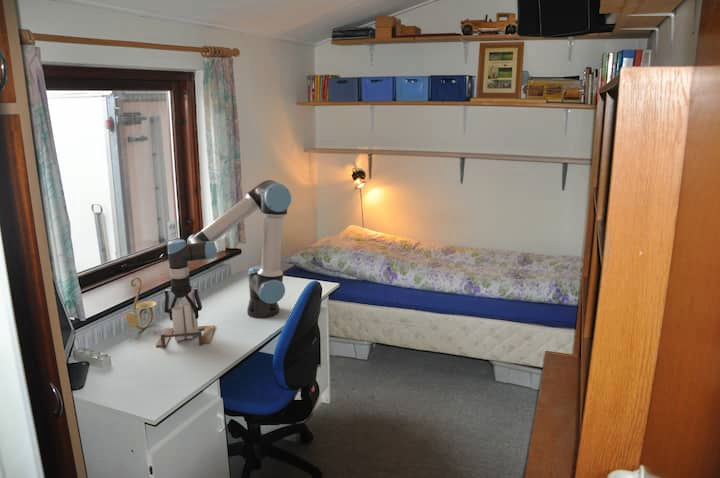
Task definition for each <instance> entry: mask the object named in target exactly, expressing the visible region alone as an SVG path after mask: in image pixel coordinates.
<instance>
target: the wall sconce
mask: <svg viewBox="0 0 720 478" xmlns="http://www.w3.org/2000/svg"><path fill="white" fill-rule="evenodd" d="M135 280H138V282H139V283H138V284H139V286H138V290H137V293H136V295H135V299H134V302H133V310H132V312H128V313H126V315H125V322H126V323H127V325H128V326H129V327H132V328H135V327H136V329H138V330H143V329H146V328H148V327H149V326H150V325H151V323H152V321H153V318H154V312H153V311H154V310H153V309H152V308H153V307H155V306H156V305H157V301H156V302H155V301H154V300H144V301H140V302H138V301H139V298H140V293H141V290H142V285H143V283H142V280H141V278H140V277H137V276H135V277H133V278H132V279H131V281H130V286H131V287H133V288H134V287H136V285H137V283H134V281H135ZM148 309H149V311H150V318H149V321H148V323H147V324H145V325H144V326H139V323H140V321H139V318H140V320H143V319H145V318H146V316H145V315H147V314H148ZM136 310H140V311H139V313H138V315H139V317H138V316H137V314H136ZM142 313H144V315H143V316H142Z"/></svg>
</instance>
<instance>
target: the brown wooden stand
mask: <svg viewBox="0 0 720 478" xmlns="http://www.w3.org/2000/svg"><path fill="white" fill-rule="evenodd" d="M215 330H216V325H198V332H197V333H181V334H174V328H173V327H168V328H164V329H163V332H162V333H161V334H160V337H159V339H158V340H157V342H156V344H155V347H156V348H161V349H166V347H167V346H168V343H169V341H170V339H171V338H175V337H180V336H186V337H187V336H193V337H194V336H195V337H196V336H198V346H199V347H201V346H202V347H203V345H210V343H211V341H212V337H213V335H214V331H215ZM202 331H203V333H202Z"/></svg>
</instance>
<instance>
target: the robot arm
mask: <svg viewBox="0 0 720 478" xmlns="http://www.w3.org/2000/svg"><path fill="white" fill-rule="evenodd" d="M291 203H292V194H291V192H290V190H289V189H288V188H287V187H286V186H285V185H284V184H282V183H279V182H277V181H275V180H272V179H267V180H264V181H262V182H260V183H258V184H257V185H256V186H254V187H253V188H252V189H251V190H249V191H248V192H247V193H246V196H245V197H244V198H243V199H241V200H240V201H239V202H237V203H236V204H234V205H233V206H232V207H230V208H229V209H228V210H227V211H225V212H223V214H221V215H220V216H218V217H217V218H216V219H215V220H214V221H212V222H211V223H209V224H208V225H207V226H205V227H204V228H203V229H202V230H200V231H198V232H197V233H195V234H194V233H193V234H191V235H190V236H188V238H187V241H186V240H184V239H172V240H170V241H168V242H167V245H166V246H167V257H168V265H169V275H170V284H171V288H170V289H169V288H166V289H165V290H164V295H165V300H164V313H166V314H169V320H170V321H173V317H172V308H173V307H175V306H176V304H177V301H178V299H179V298H181V297H183V298H184V296H185V297H186V299H187V300H188V301H189V303H190V305H191V306H192V308H193V310H194V312H193V319H194V327H196V326H197V323H198V319H199V317H200V316H199V311H202V308H203V305H202V302H201V298H200V295H199V287H197V286H196V287H192V285H191V280H190V272H189V271H190V269H189V262H196V261H197V262H198V261H205V260H211V259H215V258H216V257H217V246H216V244H215V242H216V241H217V240H219V239H220V238H222V237H223V236H224V235H225V234H227V233H228V232H229V231H230V230H232V229H233V228H235V227H236V226H237V225H238V224H240V223H241V222H243V221H244V220H245V219H247V218H248V217H249V216H251V215H252V214H254V213H255V212H257V211H260V214H261V215H262V216H263V225H262V226H263V227H262V241H261V242H262V244H261V245H262V246H261V260H260V262H261V263H260V265H256V266H251V267H249V268H248V273H247V275H248V286H249V301H248V304H247V307H246V308H247V309H246V310H247V315H248V316H249V317H252V318H255V319H256V318H257V319H264V318H265V319H266V318H270V317H273V316H275V315H278V313H280V306H279V303H278V302H280V301H281V300H282V299H283V297H284V296H285V293H286V287H285V284H284V282H283V280H284V272H283V271H282V270H281V261H282V260H281V259H282V243H283V231H284V230H283V229H284V218H285V217H286V216H287V215H288V208H289V207H290V205H291ZM190 291H193V293H194V296H195V301H196V304H195V303H194V302H193V301H192V300H191V298H190V297H189V296H188V294H189V293H190ZM171 293H172V294H173V300H172V303H171V304H170V296H171ZM170 305H171V306H170ZM172 328H174V327H173V326H172Z"/></svg>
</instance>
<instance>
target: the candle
mask: <svg viewBox="0 0 720 478" xmlns="http://www.w3.org/2000/svg"><path fill="white" fill-rule="evenodd" d="M188 296H189V297H190V298H191V300H192V301H193V302H194V303H195V304H196V305H197V303H196V299H195V296H194V293H193V291H190V293H189V294H188ZM178 300H179V305H175V307H173V308H172V317H173V320H172V328H173V327H174V332H173V334H181V333H197V332H198V326H199V324H198V322H197V326H196V327H194V319H193V312H194V310H193V308H192V306H191V305H190V303H189V301H188V300H187V299H186V297H185V296H184V298H183V297H181V298H178ZM185 339H187V340H191V339H194V336H180V337H174V340H175V341H178V342H179V341H183V340H185Z"/></svg>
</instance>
